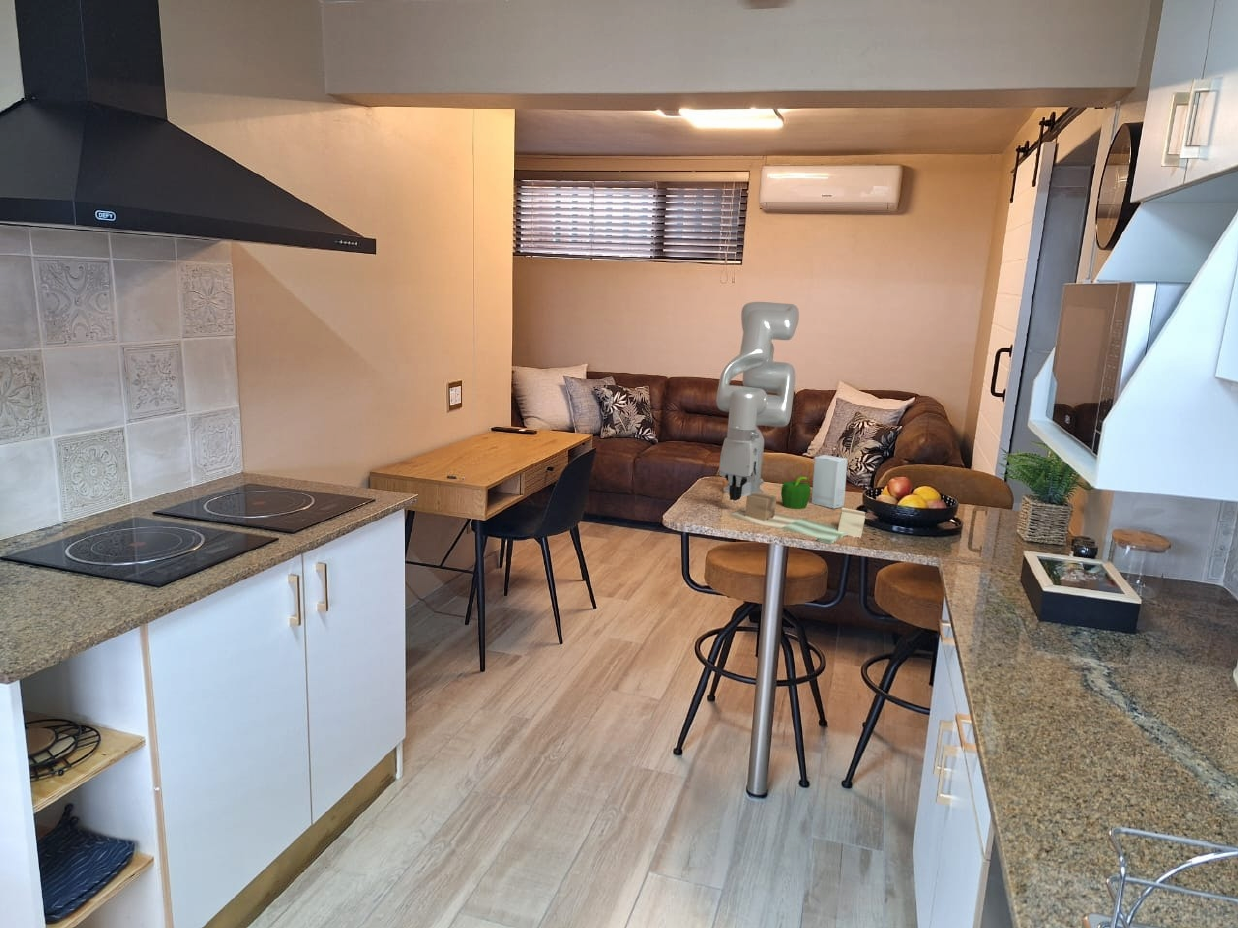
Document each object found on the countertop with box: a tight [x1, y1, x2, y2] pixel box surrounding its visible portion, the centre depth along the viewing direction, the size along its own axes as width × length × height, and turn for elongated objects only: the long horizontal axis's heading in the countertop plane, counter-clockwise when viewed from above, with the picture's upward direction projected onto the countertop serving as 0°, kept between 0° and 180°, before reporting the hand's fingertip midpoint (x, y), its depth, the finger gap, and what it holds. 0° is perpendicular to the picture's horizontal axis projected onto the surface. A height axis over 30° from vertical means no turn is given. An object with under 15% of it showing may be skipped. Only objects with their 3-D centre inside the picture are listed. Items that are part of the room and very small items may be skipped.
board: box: [726, 507, 846, 545], centre depth 221 cm, size 14×30×1 cm, turn 55°
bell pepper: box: [780, 476, 812, 510], centre depth 238 cm, size 8×8×10 cm
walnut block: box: [745, 492, 777, 521], centre depth 224 cm, size 6×6×6 cm
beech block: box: [837, 507, 866, 539], centre depth 217 cm, size 6×6×6 cm
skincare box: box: [811, 454, 848, 509], centre depth 245 cm, size 8×6×15 cm
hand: (734, 499), depth 229 cm, fingers closed
